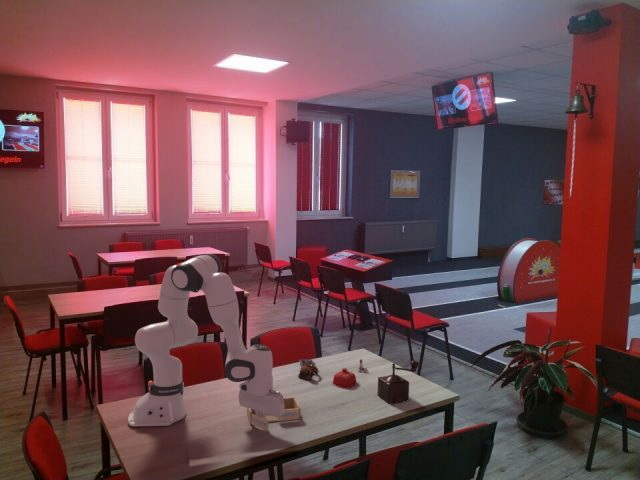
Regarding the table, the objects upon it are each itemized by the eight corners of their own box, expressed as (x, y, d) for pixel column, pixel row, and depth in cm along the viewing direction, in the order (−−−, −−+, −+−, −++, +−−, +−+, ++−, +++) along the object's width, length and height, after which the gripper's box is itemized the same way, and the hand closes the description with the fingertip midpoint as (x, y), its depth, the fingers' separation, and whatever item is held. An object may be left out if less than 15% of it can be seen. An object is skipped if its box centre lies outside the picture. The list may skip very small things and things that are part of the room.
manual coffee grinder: (389, 406, 213) (390, 366, 211) (376, 397, 223) (377, 358, 221) (419, 401, 219) (421, 361, 217) (406, 392, 229) (407, 354, 227)
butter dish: (327, 386, 235) (327, 368, 234) (341, 379, 244) (341, 362, 244) (347, 392, 228) (347, 374, 228) (361, 385, 237) (361, 367, 237)
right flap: (278, 421, 196) (278, 411, 195) (277, 420, 196) (277, 410, 196) (300, 418, 198) (300, 408, 198) (300, 418, 199) (300, 408, 199)
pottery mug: (294, 377, 246) (300, 361, 248) (310, 384, 248) (316, 368, 250) (301, 380, 235) (308, 363, 237) (318, 387, 237) (325, 371, 239)
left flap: (249, 423, 193) (249, 413, 193) (251, 423, 194) (251, 412, 193) (267, 431, 188) (267, 420, 187) (268, 430, 188) (268, 419, 188)
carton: (250, 424, 194) (250, 412, 194) (246, 413, 204) (246, 401, 203) (299, 419, 200) (300, 407, 199) (294, 408, 209) (294, 397, 209)
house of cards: (373, 378, 246) (373, 363, 246) (355, 377, 247) (356, 362, 247) (373, 372, 255) (374, 357, 254) (357, 371, 256) (357, 356, 256)
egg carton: (316, 371, 251) (316, 363, 251) (302, 373, 250) (301, 365, 250) (313, 364, 262) (312, 356, 261) (299, 365, 261) (298, 358, 260)
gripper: (288, 390, 187) (288, 425, 188) (246, 378, 198) (247, 412, 199) (277, 395, 182) (278, 432, 183) (236, 384, 193) (236, 418, 194)
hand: (261, 421), depth 191 cm, fingers closed, pressing on left flap
